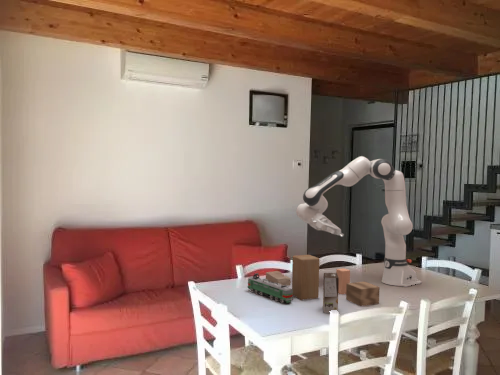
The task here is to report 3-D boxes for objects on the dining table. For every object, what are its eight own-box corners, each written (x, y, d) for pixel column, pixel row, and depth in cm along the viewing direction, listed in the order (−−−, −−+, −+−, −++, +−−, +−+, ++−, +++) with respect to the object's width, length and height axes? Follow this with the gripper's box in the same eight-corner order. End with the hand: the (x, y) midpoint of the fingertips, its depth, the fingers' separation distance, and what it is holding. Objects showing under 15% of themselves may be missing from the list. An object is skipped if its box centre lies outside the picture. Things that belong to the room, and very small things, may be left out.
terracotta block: (343, 290, 226) (344, 268, 226) (349, 293, 222) (350, 270, 221) (335, 291, 224) (336, 269, 224) (341, 294, 220) (342, 271, 219)
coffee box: (338, 313, 190) (339, 277, 190) (323, 313, 191) (324, 277, 190) (336, 307, 199) (337, 272, 199) (322, 306, 200) (323, 272, 199)
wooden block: (291, 294, 218) (292, 255, 217) (308, 292, 222) (309, 254, 221) (300, 300, 209) (301, 259, 208) (318, 298, 212) (319, 258, 212)
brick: (291, 285, 236) (291, 277, 236) (277, 287, 232) (277, 278, 232) (278, 278, 251) (278, 270, 251) (264, 279, 248) (265, 271, 248)
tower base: (364, 297, 216) (364, 281, 215) (379, 303, 206) (379, 287, 205) (346, 299, 211) (346, 283, 211) (360, 306, 201) (360, 289, 201)
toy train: (252, 289, 227) (253, 270, 227) (295, 304, 204) (295, 283, 203) (245, 290, 224) (245, 271, 224) (287, 306, 200) (288, 284, 200)
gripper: (312, 213, 230) (332, 225, 221) (331, 220, 246) (350, 232, 237) (306, 223, 231) (326, 236, 222) (325, 230, 246) (344, 242, 237)
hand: (338, 234), depth 229 cm, fingers open, 8 cm apart
